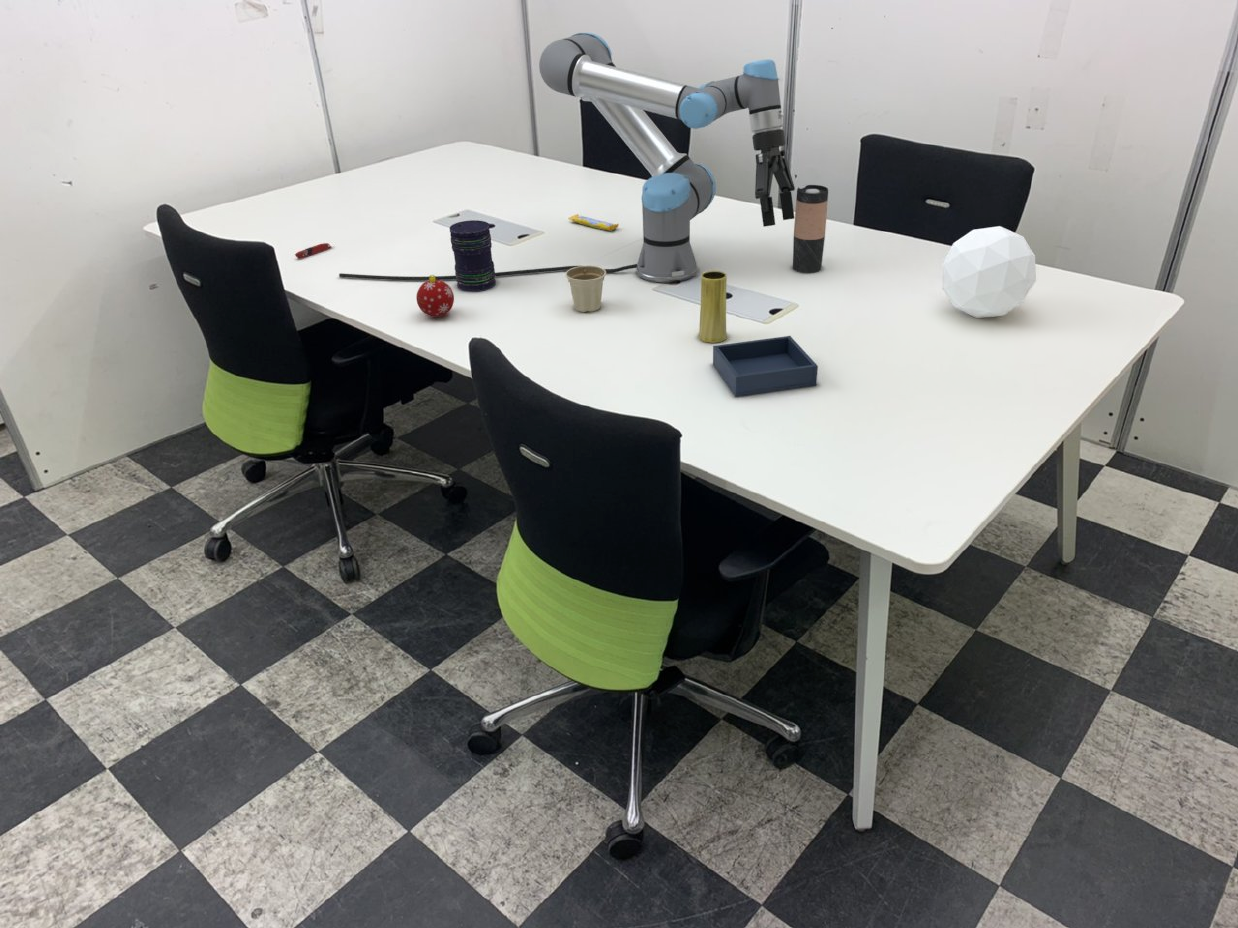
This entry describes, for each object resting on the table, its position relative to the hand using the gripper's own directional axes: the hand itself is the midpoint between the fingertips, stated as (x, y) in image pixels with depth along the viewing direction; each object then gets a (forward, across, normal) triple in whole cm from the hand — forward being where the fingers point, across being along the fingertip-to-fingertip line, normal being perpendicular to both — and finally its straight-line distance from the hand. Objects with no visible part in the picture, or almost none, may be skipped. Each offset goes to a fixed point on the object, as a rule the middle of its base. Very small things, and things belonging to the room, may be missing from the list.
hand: (779, 222), depth 225 cm
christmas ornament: (+6, -52, +67) cm, 85 cm away
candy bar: (-6, +18, +63) cm, 66 cm away
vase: (+20, -37, +5) cm, 42 cm away
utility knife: (-12, -32, +124) cm, 128 cm away
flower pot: (+11, -34, +37) cm, 51 cm away
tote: (+26, -49, -11) cm, 57 cm away
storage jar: (+2, -33, +69) cm, 77 cm away
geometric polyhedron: (+26, -1, -44) cm, 52 cm away
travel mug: (+13, +10, -2) cm, 16 cm away
